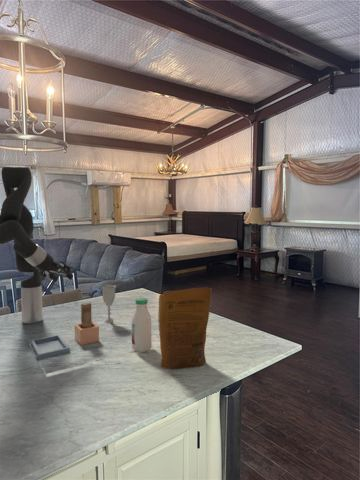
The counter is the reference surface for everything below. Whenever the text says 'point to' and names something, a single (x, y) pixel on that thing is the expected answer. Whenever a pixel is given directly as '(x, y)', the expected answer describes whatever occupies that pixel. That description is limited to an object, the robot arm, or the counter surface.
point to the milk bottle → (141, 327)
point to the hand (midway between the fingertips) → (64, 279)
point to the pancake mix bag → (183, 327)
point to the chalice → (108, 299)
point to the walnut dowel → (86, 315)
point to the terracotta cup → (86, 334)
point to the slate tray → (49, 346)
